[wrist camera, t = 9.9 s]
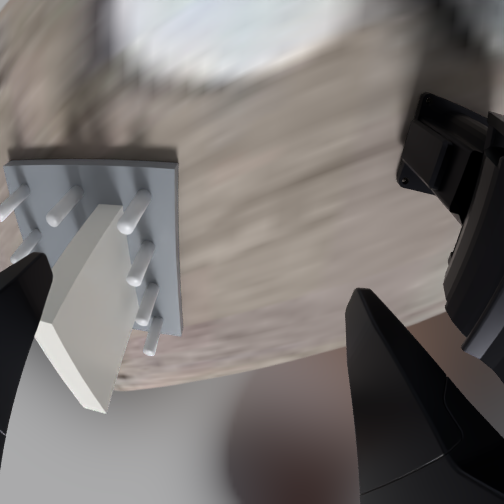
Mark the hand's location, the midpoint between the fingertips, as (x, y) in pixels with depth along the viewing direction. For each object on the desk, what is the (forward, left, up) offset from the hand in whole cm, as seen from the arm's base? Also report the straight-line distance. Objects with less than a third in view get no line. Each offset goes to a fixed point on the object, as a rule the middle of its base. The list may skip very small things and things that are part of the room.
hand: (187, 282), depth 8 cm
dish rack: (+10, +10, -12) cm, 18 cm away
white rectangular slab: (+7, +10, -11) cm, 16 cm away
